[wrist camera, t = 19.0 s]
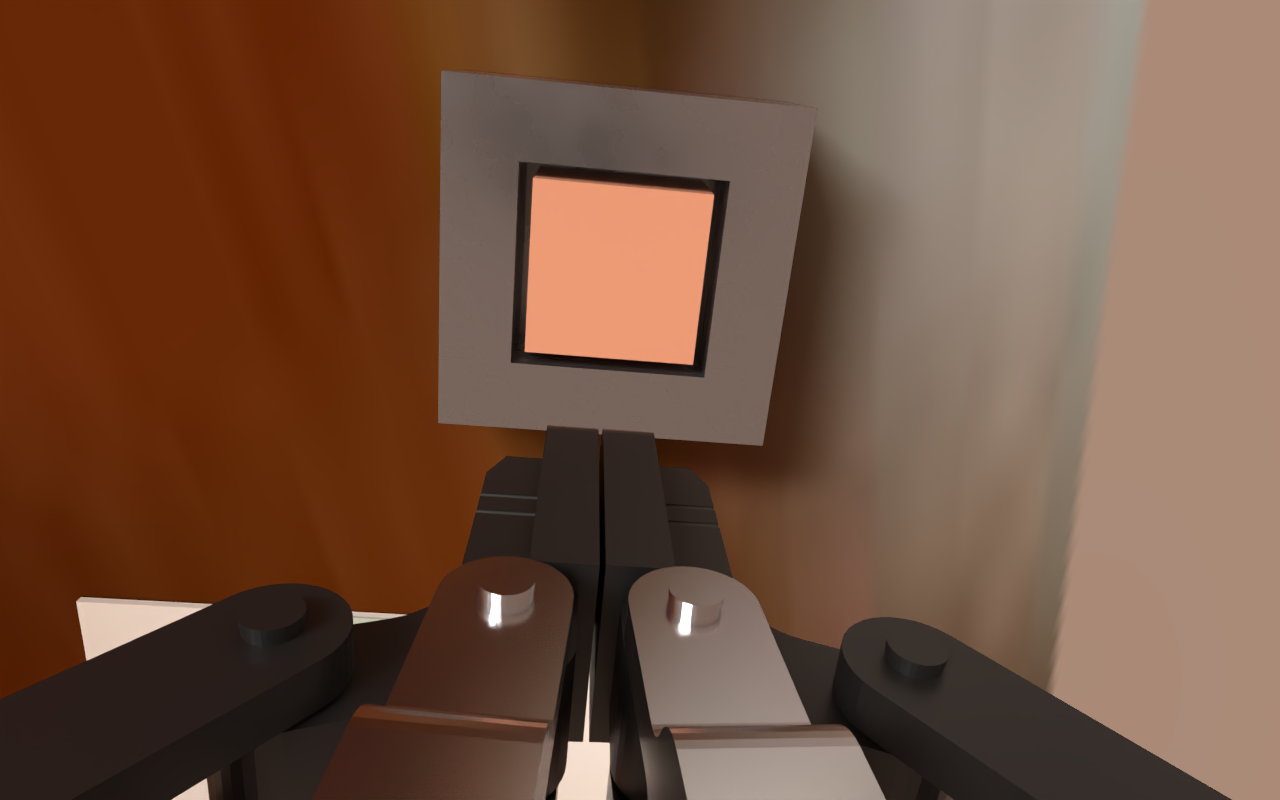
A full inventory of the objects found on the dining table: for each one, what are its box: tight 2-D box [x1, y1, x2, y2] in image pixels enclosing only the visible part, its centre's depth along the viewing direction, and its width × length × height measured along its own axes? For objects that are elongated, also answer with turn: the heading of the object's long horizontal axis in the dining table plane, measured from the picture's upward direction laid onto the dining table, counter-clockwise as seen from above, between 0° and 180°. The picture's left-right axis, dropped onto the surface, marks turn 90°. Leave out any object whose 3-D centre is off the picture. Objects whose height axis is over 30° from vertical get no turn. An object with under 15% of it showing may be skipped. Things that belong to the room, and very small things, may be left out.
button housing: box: [438, 70, 818, 446], centre depth 26 cm, size 10×10×4 cm
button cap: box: [525, 166, 714, 365], centre depth 25 cm, size 5×5×3 cm
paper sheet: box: [76, 597, 610, 800], centre depth 36 cm, size 22×18×1 cm
